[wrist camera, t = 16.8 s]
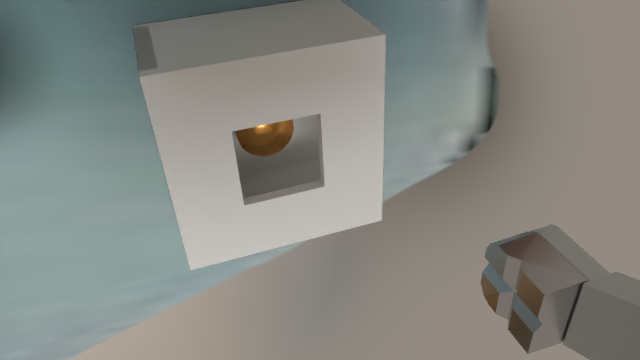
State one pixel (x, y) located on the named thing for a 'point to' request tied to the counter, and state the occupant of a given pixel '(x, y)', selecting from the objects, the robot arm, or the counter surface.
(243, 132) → the orange ball
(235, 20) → the box
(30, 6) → the counter surface
